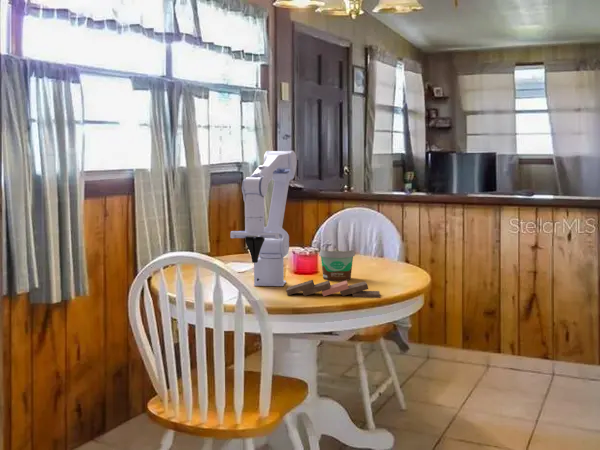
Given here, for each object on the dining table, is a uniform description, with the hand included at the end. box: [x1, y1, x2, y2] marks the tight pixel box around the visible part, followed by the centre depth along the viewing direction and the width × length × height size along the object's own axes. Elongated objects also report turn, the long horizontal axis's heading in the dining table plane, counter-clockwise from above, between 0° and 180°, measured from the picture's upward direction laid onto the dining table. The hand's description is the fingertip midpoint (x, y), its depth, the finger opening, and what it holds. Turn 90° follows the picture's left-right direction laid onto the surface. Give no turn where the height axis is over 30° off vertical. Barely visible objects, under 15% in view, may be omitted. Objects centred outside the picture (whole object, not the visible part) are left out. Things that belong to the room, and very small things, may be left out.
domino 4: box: [340, 281, 369, 297], centre depth 213 cm, size 2×5×8 cm
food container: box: [318, 248, 356, 282], centre depth 237 cm, size 12×6×10 cm, turn 101°
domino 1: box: [285, 279, 315, 296], centre depth 214 cm, size 2×5×8 cm
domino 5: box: [352, 290, 381, 299], centre depth 212 cm, size 2×5×8 cm
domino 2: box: [302, 280, 332, 297], centre depth 213 cm, size 2×5×8 cm
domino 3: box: [321, 280, 349, 297], centre depth 213 cm, size 2×5×8 cm
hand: (255, 262), depth 213 cm, fingers closed
